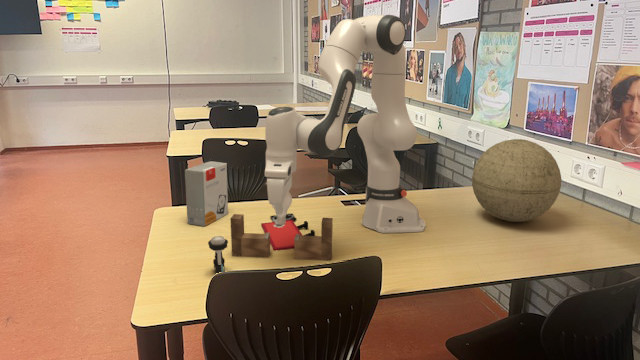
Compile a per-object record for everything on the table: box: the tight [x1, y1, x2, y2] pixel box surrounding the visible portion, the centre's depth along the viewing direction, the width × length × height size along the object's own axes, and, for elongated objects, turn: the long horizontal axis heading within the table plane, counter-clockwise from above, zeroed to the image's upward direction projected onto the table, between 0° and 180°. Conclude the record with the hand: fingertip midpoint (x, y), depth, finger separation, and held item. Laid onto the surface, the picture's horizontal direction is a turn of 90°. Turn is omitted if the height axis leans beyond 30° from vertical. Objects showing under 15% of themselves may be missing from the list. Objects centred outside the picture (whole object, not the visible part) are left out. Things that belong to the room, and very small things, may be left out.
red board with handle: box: [260, 213, 316, 252], centre depth 165 cm, size 30×3×15 cm
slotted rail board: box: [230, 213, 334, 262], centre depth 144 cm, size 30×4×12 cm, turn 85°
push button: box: [207, 235, 229, 274], centre depth 135 cm, size 7×5×10 cm
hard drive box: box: [184, 160, 229, 227], centre depth 174 cm, size 16×8×20 cm, turn 158°
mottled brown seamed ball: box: [471, 138, 562, 223], centre depth 175 cm, size 30×30×30 cm
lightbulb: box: [270, 191, 293, 225], centre depth 142 cm, size 6×6×11 cm
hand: (281, 210), depth 142 cm, fingers closed on lightbulb, 6 cm apart
